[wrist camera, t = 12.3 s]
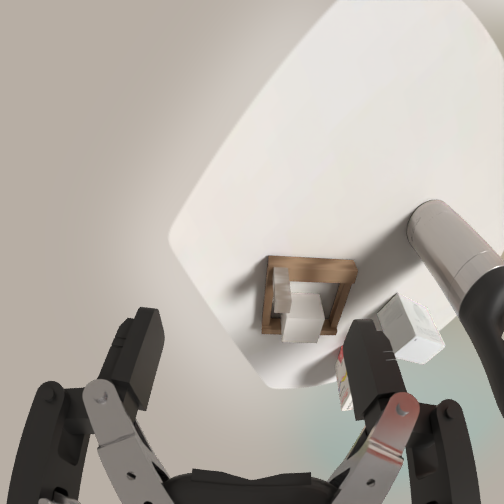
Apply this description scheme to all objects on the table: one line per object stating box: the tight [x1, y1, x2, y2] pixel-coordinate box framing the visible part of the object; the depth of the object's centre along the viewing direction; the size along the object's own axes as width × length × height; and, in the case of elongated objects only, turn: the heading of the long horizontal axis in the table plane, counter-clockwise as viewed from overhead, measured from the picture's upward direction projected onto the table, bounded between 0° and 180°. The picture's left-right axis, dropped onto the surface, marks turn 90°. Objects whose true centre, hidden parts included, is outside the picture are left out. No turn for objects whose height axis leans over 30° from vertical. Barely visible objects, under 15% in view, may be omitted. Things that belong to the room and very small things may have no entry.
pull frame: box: [262, 256, 358, 335], centre depth 43 cm, size 13×15×10 cm
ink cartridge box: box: [335, 346, 354, 411], centre depth 52 cm, size 9×5×15 cm, turn 3°
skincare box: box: [377, 293, 445, 365], centre depth 46 cm, size 10×6×10 cm, turn 64°
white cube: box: [281, 293, 325, 343], centre depth 47 cm, size 6×6×6 cm
